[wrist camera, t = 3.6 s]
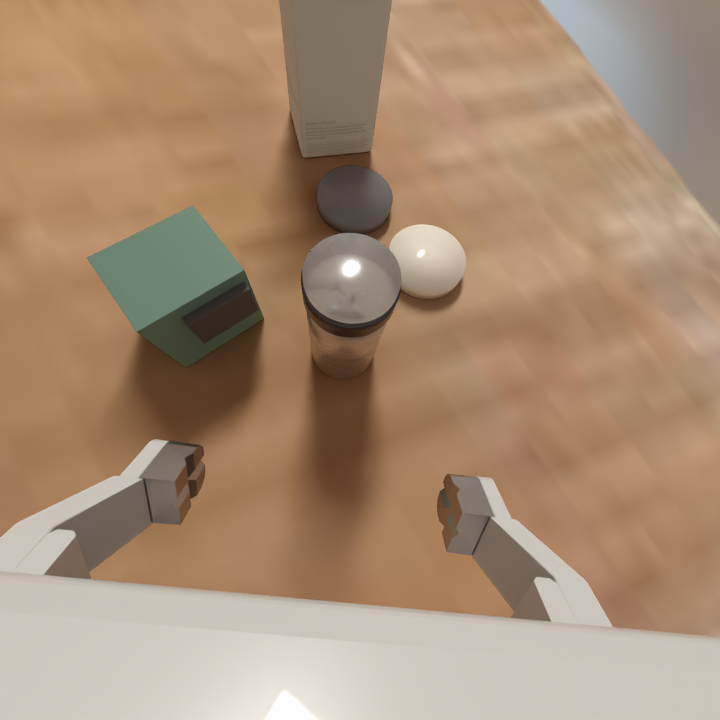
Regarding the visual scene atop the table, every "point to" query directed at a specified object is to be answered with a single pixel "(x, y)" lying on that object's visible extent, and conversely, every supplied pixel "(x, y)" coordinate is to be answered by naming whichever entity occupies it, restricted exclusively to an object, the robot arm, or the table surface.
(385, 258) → the grey-lidded jar
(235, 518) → the table surface
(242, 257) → the table surface
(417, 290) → the cream dome cap
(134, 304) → the block
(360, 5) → the supplement box
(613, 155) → the table surface
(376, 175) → the disc
